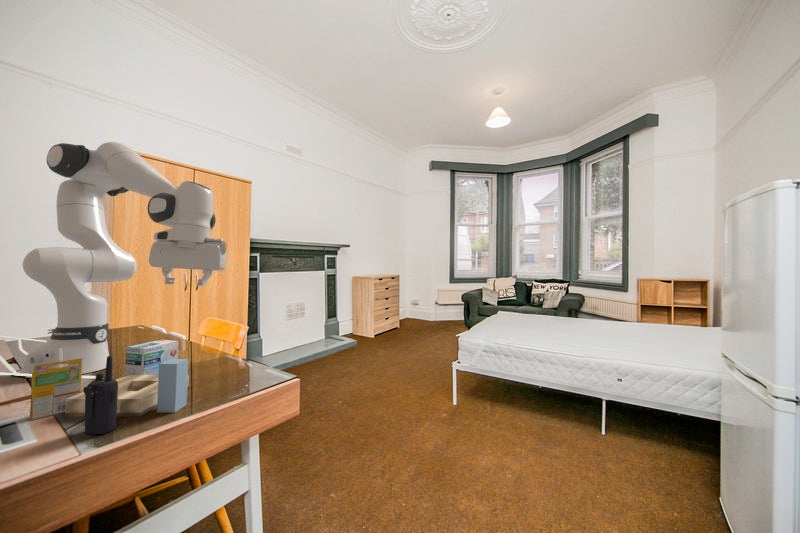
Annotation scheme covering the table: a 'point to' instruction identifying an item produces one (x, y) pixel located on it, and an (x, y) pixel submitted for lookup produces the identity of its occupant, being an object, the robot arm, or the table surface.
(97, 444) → the table surface
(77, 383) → the crayon box
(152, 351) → the light bulb box
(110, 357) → the two-way radio
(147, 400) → the pocket block
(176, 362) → the post
